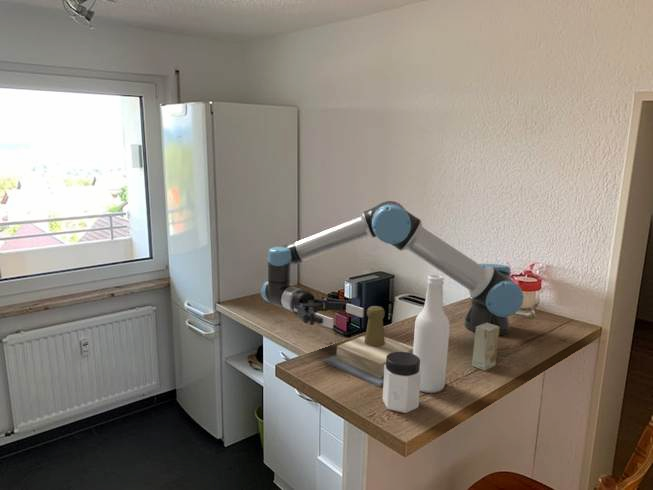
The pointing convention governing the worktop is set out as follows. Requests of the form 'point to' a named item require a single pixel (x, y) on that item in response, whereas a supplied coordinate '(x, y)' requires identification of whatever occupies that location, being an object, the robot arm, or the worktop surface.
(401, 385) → the jar
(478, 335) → the skincare box
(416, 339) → the alcohol
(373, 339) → the cork
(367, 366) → the plinth
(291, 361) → the worktop surface
